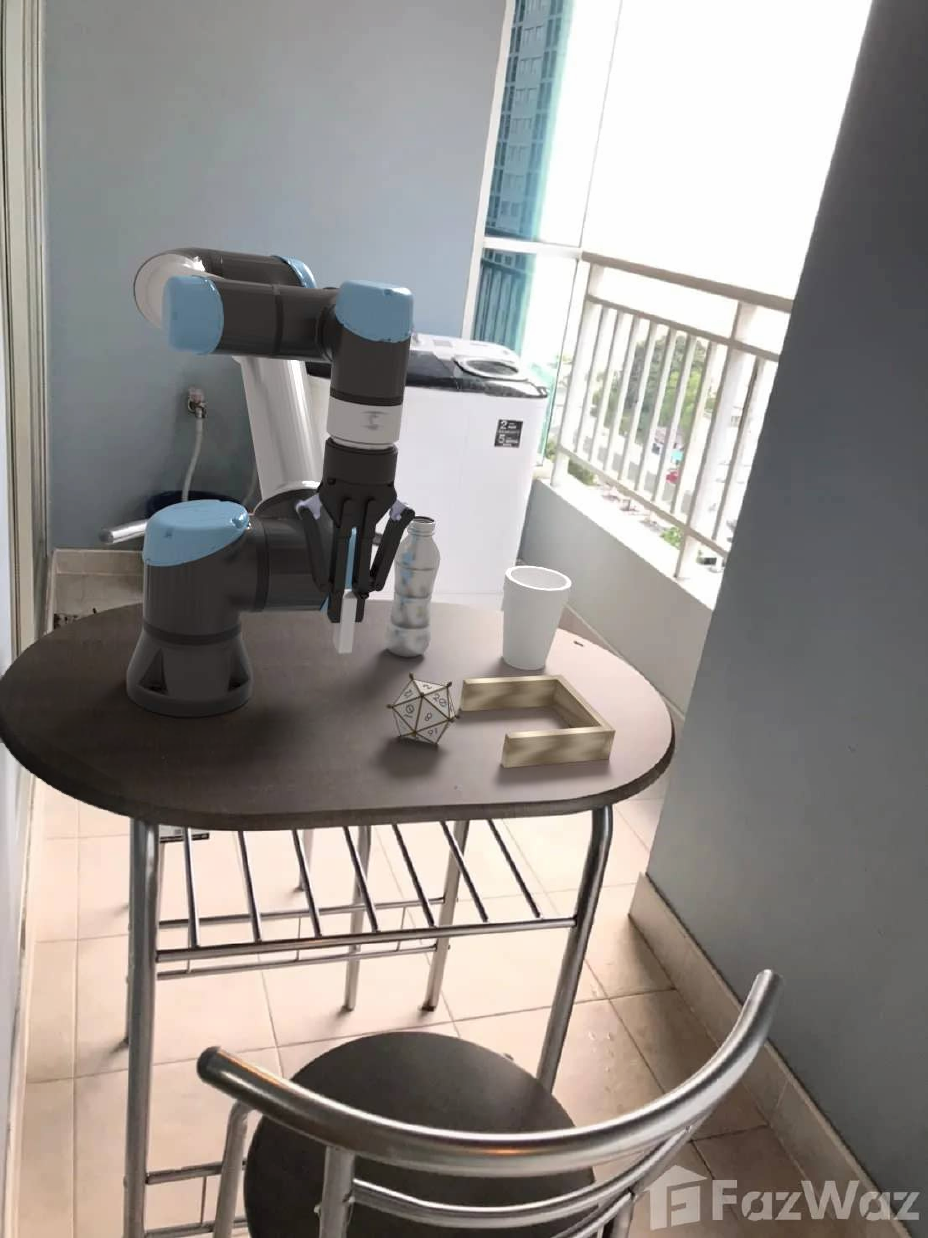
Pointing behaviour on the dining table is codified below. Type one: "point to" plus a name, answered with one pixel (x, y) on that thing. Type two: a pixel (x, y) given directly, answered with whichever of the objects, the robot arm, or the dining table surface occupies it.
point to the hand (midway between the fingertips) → (342, 647)
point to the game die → (423, 711)
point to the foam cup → (532, 614)
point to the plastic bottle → (413, 589)
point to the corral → (547, 746)
